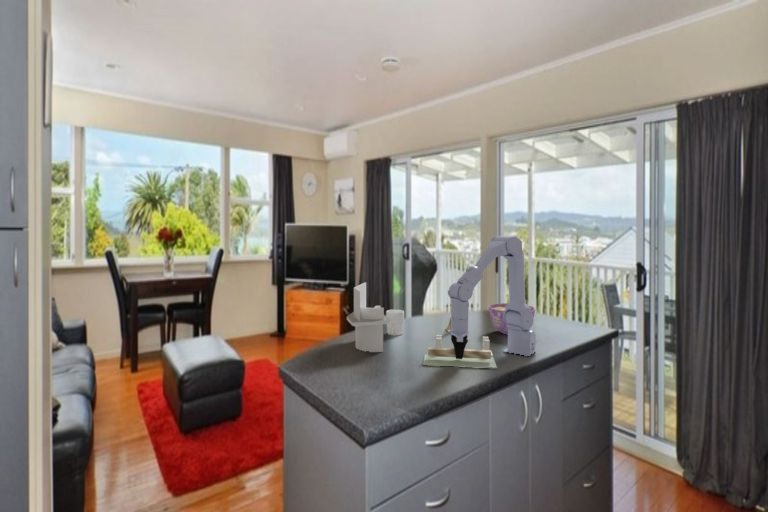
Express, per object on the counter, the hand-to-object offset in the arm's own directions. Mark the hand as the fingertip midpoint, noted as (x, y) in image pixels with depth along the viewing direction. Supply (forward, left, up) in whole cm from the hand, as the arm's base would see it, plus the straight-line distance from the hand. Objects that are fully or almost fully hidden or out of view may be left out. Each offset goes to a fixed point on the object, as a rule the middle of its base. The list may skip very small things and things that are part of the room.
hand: (459, 357), depth 143 cm
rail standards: (+4, -10, -2) cm, 10 cm away
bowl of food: (+2, -51, -2) cm, 51 cm away
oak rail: (0, 0, 0) cm, 0 cm away
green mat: (0, 0, -2) cm, 2 cm away
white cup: (+41, -18, -2) cm, 45 cm away
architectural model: (+38, +4, -2) cm, 39 cm away
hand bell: (+24, -40, -2) cm, 46 cm away
